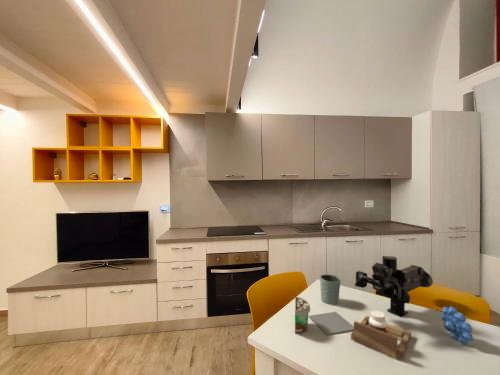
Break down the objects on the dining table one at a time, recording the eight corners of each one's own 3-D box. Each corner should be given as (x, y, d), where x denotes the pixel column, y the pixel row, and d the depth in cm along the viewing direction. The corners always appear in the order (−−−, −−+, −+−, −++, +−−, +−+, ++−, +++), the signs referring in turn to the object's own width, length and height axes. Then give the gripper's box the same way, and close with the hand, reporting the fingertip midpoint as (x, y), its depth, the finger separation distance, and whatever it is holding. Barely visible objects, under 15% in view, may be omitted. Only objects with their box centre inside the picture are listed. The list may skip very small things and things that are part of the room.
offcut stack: (371, 323, 103) (372, 317, 103) (404, 335, 95) (404, 329, 95) (367, 329, 98) (367, 323, 98) (401, 342, 90) (401, 336, 90)
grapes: (432, 331, 96) (432, 302, 96) (446, 330, 97) (446, 300, 97) (462, 351, 85) (462, 317, 85) (477, 349, 86) (477, 315, 86)
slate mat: (335, 312, 111) (335, 311, 111) (356, 329, 97) (356, 328, 97) (308, 316, 107) (308, 315, 107) (326, 335, 93) (326, 334, 93)
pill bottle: (389, 350, 85) (389, 319, 85) (370, 347, 87) (370, 316, 87) (385, 340, 91) (385, 311, 91) (367, 336, 93) (367, 308, 93)
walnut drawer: (366, 320, 104) (366, 304, 104) (411, 336, 93) (411, 318, 93) (350, 339, 91) (350, 321, 91) (400, 361, 79) (400, 340, 79)
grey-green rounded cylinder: (323, 294, 129) (323, 272, 129) (342, 300, 123) (343, 276, 123) (317, 301, 121) (317, 278, 121) (337, 307, 115) (337, 283, 115)
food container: (311, 337, 92) (311, 311, 92) (294, 335, 93) (295, 310, 93) (309, 320, 104) (309, 297, 104) (295, 318, 105) (295, 296, 105)
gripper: (366, 257, 114) (345, 263, 106) (408, 269, 98) (388, 276, 90) (366, 281, 114) (345, 288, 106) (408, 296, 98) (388, 305, 90)
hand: (365, 288), depth 98 cm, fingers open, 9 cm apart
